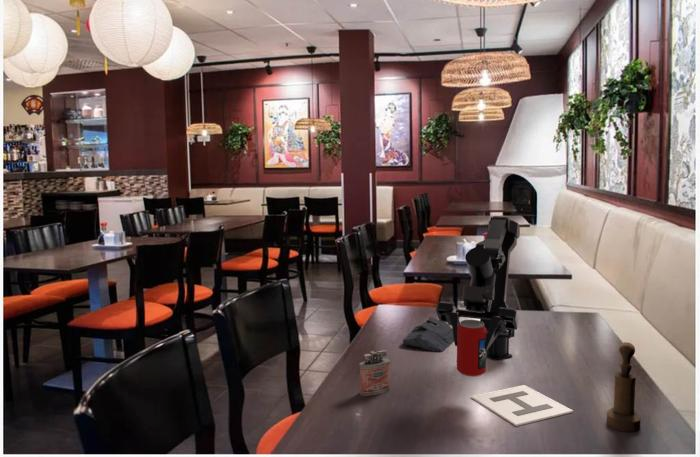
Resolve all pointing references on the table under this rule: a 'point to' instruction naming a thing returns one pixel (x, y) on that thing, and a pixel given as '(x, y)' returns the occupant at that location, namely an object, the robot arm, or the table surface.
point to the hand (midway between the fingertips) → (470, 347)
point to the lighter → (374, 373)
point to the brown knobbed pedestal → (624, 395)
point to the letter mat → (521, 405)
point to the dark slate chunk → (431, 336)
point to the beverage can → (471, 348)
